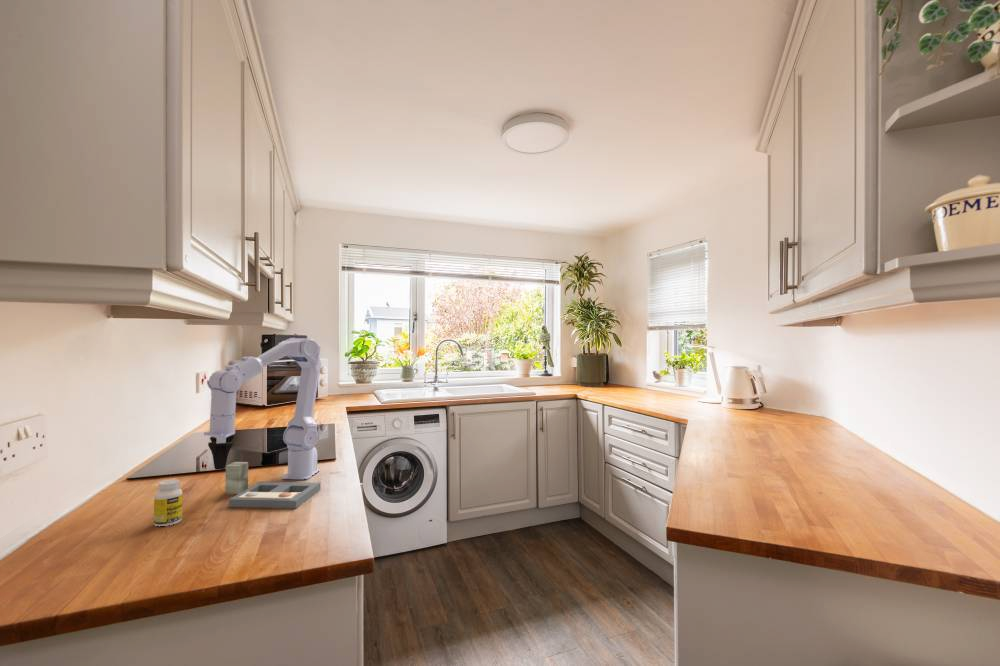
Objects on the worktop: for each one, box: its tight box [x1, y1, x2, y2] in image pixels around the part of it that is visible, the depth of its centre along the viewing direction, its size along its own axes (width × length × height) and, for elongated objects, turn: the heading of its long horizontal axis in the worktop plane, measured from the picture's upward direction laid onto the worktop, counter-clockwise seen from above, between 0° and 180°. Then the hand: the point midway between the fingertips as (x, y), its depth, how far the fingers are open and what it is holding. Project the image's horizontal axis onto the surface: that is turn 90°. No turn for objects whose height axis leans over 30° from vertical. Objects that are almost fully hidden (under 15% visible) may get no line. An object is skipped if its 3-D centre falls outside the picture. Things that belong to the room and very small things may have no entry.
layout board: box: [228, 481, 322, 509], centre depth 121 cm, size 14×18×2 cm
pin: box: [224, 461, 249, 495], centre depth 125 cm, size 4×4×8 cm
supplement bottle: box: [153, 478, 184, 528], centre depth 104 cm, size 5×5×10 cm
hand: (220, 465), depth 118 cm, fingers open, 7 cm apart
